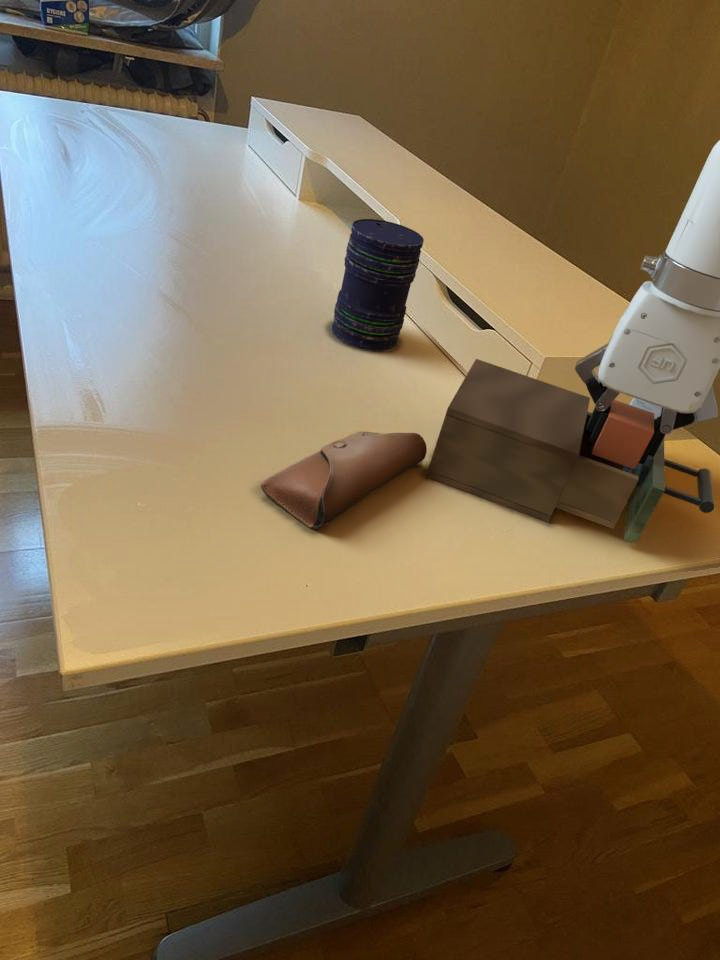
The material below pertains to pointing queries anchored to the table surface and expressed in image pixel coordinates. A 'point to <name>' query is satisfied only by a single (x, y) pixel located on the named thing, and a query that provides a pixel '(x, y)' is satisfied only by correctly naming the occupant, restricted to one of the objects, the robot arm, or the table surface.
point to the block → (625, 434)
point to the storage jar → (376, 284)
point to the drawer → (626, 489)
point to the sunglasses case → (343, 474)
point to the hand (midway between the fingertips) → (616, 447)
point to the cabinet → (510, 439)
